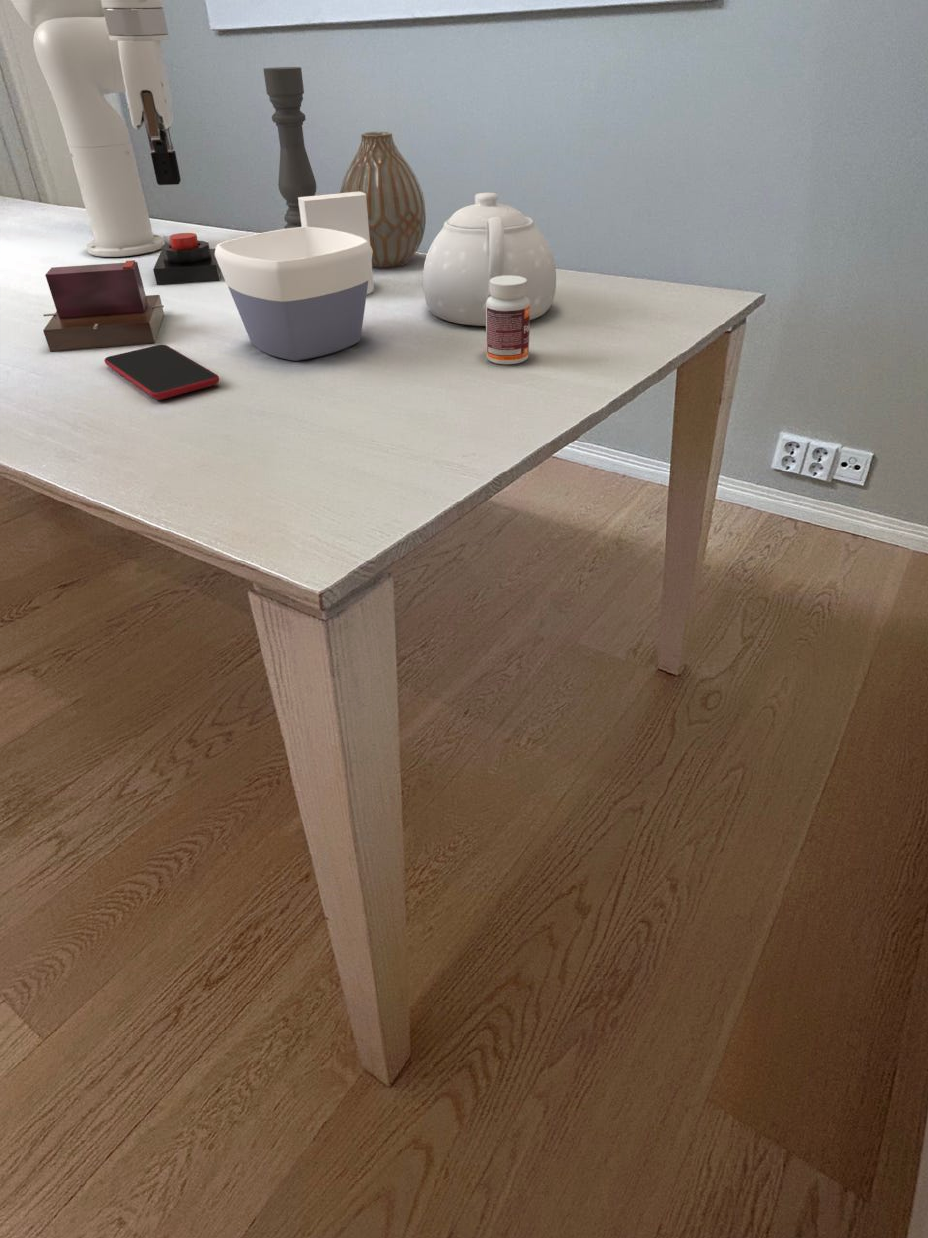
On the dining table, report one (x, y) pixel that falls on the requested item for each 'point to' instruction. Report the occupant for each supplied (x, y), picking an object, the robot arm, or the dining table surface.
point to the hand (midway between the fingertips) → (169, 183)
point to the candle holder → (290, 138)
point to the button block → (186, 265)
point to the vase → (388, 199)
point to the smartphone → (162, 371)
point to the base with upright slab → (338, 216)
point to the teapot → (486, 261)
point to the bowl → (298, 289)
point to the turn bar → (97, 289)
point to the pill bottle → (507, 320)
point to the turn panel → (105, 328)
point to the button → (183, 240)
